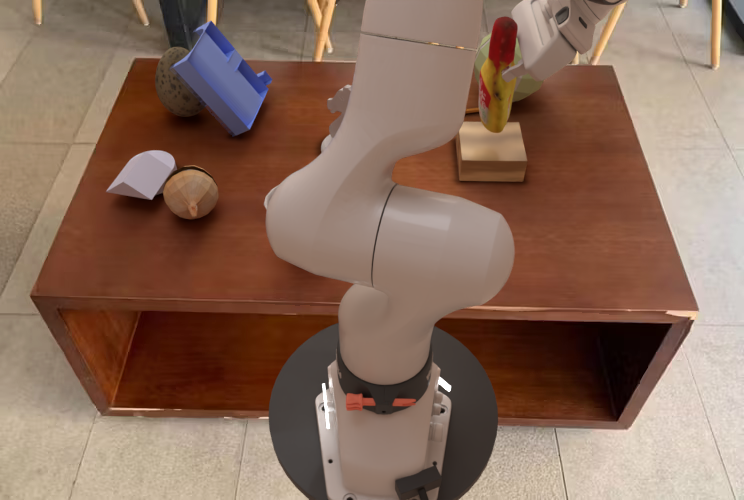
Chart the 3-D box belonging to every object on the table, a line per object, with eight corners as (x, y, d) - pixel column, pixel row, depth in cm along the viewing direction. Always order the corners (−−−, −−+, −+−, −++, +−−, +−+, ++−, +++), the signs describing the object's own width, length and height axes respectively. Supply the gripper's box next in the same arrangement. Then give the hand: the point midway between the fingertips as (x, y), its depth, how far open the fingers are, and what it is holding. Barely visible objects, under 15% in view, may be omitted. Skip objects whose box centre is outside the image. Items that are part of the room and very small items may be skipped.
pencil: (498, 104, 144) (411, 116, 141) (499, 104, 143) (412, 115, 140) (498, 109, 144) (412, 120, 141) (500, 109, 143) (413, 120, 140)
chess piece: (342, 128, 139) (339, 64, 128) (380, 146, 135) (381, 81, 124) (310, 152, 133) (305, 87, 123) (349, 172, 129) (347, 106, 118)
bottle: (511, 140, 120) (524, 35, 106) (474, 138, 121) (483, 34, 106) (511, 103, 128) (523, 1, 114) (477, 101, 129) (485, 0, 115)
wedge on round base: (156, 213, 121) (186, 167, 130) (146, 185, 116) (178, 139, 125) (111, 205, 123) (143, 160, 131) (99, 177, 118) (134, 133, 127)
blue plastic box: (249, 129, 134) (224, 140, 138) (273, 79, 144) (248, 90, 148) (186, 60, 124) (161, 73, 128) (217, 10, 134) (192, 24, 138)
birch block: (523, 181, 127) (527, 161, 124) (459, 180, 128) (462, 160, 124) (515, 142, 136) (519, 122, 132) (455, 141, 136) (457, 121, 132)
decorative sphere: (535, 60, 129) (503, 122, 139) (573, 45, 138) (541, 104, 148) (477, 19, 134) (450, 82, 144) (518, 7, 143) (490, 67, 154)
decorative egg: (217, 124, 140) (204, 59, 129) (163, 131, 138) (146, 66, 127) (213, 95, 147) (200, 31, 136) (162, 101, 145) (146, 37, 134)
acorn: (197, 146, 122) (191, 171, 108) (230, 185, 126) (227, 214, 112) (157, 175, 123) (145, 203, 109) (190, 213, 127) (182, 245, 113)
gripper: (548, -33, 114) (483, 20, 121) (570, 27, 100) (495, 84, 107) (569, -7, 117) (504, 43, 125) (593, 55, 103) (519, 108, 110)
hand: (500, 62), depth 116 cm, fingers closed on bottle, 8 cm apart
